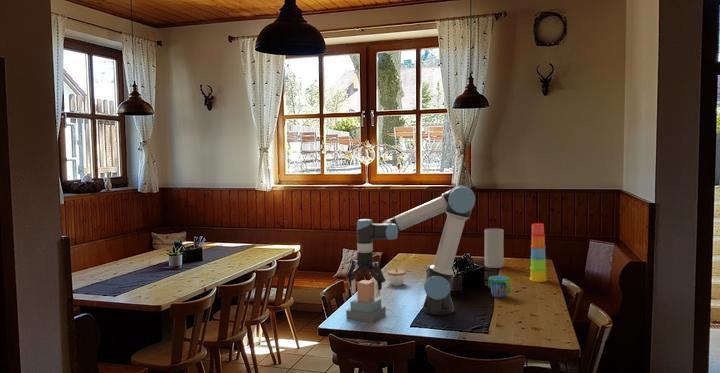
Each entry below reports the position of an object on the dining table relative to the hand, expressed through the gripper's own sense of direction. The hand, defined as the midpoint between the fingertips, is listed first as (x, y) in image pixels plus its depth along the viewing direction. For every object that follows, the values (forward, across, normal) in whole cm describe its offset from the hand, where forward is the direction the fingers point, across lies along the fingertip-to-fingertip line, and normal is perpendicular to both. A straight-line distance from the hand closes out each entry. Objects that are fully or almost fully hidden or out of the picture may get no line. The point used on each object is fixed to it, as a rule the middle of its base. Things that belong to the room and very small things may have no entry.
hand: (365, 294), depth 257 cm
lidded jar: (+11, +13, -62) cm, 64 cm away
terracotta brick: (+3, 0, 0) cm, 3 cm away
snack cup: (+11, -48, -63) cm, 80 cm away
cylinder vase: (+11, -26, -134) cm, 137 cm away
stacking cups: (+11, -60, -108) cm, 124 cm away
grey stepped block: (+11, 0, 0) cm, 11 cm away
